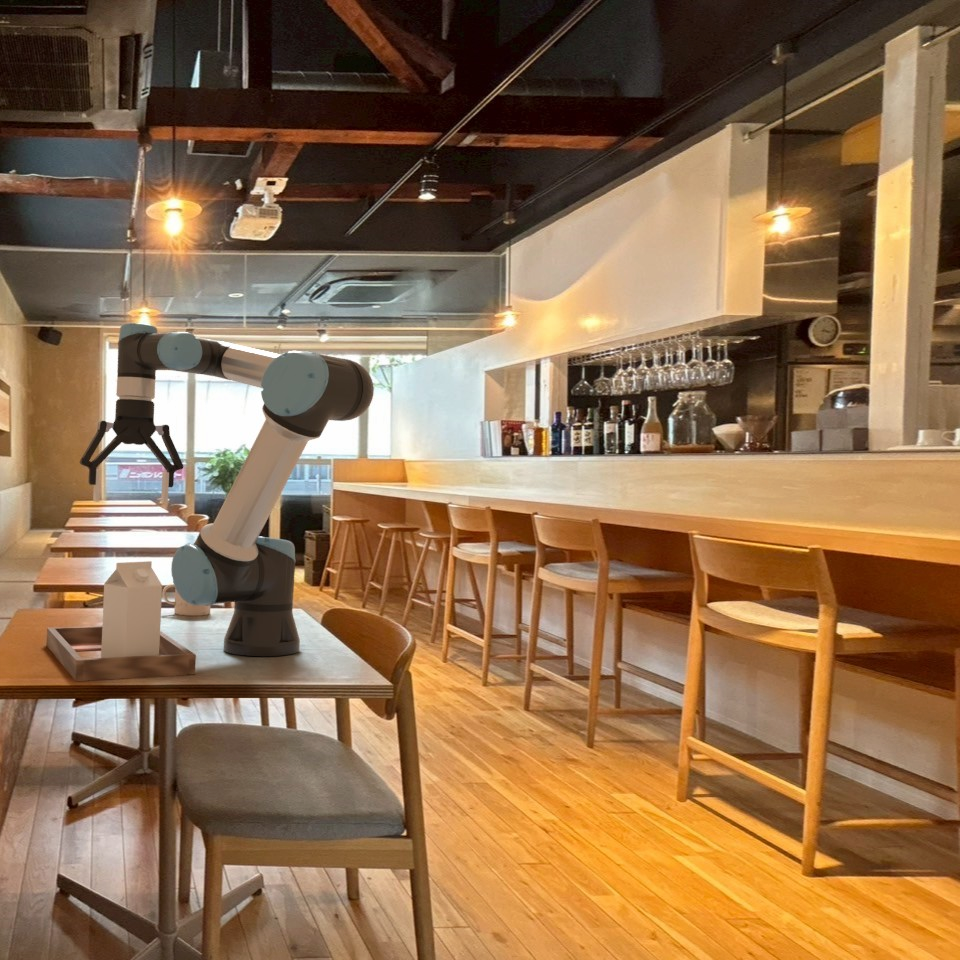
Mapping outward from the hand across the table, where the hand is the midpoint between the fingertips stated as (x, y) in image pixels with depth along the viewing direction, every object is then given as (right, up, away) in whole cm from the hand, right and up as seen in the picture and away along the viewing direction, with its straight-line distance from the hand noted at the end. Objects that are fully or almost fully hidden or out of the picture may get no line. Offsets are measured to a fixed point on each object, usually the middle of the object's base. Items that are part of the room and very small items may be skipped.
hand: (130, 502), depth 212 cm
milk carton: (+10, -29, -29) cm, 42 cm away
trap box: (+4, -29, -19) cm, 35 cm away
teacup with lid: (-1, -29, +43) cm, 52 cm away
